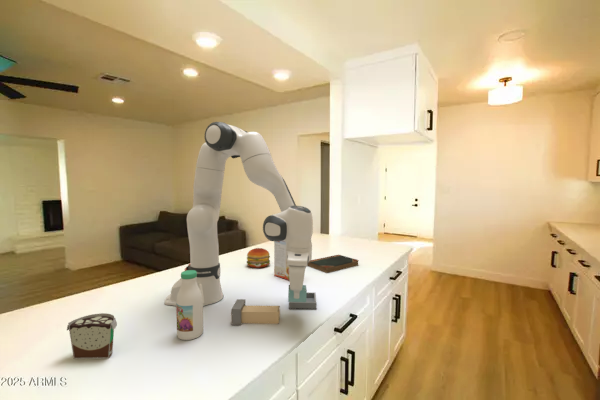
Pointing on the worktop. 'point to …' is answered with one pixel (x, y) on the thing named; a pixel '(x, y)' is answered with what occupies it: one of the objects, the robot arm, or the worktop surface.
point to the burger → (258, 258)
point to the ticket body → (254, 313)
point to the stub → (301, 296)
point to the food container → (92, 336)
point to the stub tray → (308, 304)
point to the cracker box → (280, 260)
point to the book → (333, 263)
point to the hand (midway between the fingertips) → (297, 294)
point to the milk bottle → (189, 307)
